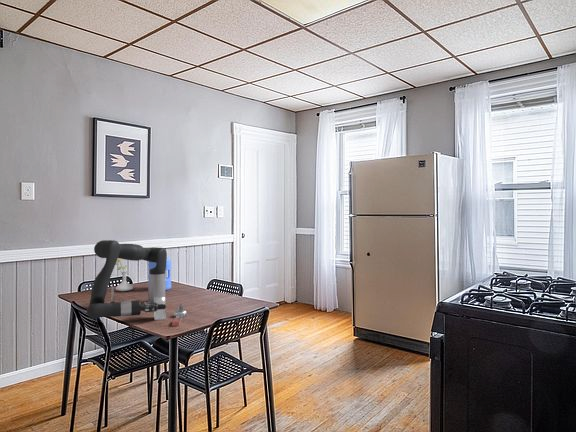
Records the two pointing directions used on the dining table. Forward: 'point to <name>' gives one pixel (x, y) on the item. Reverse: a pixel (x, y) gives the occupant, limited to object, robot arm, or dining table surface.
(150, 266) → the water jug
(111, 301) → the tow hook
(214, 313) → the dining table surface
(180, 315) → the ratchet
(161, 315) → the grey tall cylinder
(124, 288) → the flower in vase
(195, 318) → the dining table surface
